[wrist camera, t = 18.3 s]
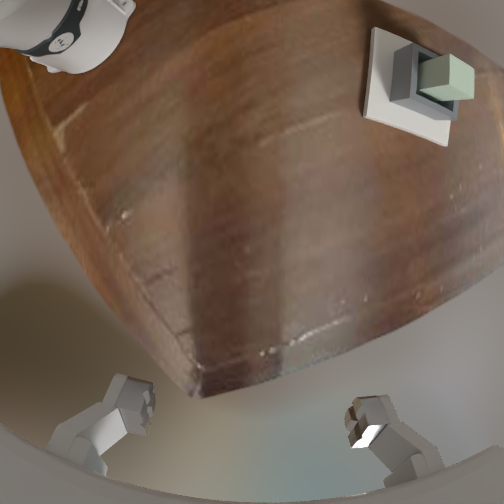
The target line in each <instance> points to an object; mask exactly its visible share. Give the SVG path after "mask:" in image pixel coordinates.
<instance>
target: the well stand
mask: <svg viewBox="0 0 504 504" xmlns="http://www.w3.org/2000/svg"><path fill="white" fill-rule="evenodd" d="M437 57H440V56H438V55H437V54H435V53H433V52H431V51H429V50H427V49H425V48H423V47H421V46H419V45H417V44H415V43H413V42H411V41H408V40H406V39H404V38H402V37H399V36H397V35H395V34H392V33H390V32H387V31H385V30H382V29H380V28H377V27H374V28H373V29H371V44H370V57H369V68H368V78H367V87H366V95H365V103H364V110H363V117H364V118H367V119H370V120H374V121H377V122H380V123H383V124H386V125H389V126H392V127H395V128H398V129H401V130H404V131H406V132H409V133H412V134H414V135H417V136H419V137H422V138H425V139H427V140H429V141H432V142H434V143H437V144H439V145H441V146H446V147H447V145H448V138H449V130H450V122H451V120H455V121H457V117H458V105H459V100H449V101H438V102H432V101H430V100H428V99H426V98H424V97H422V96H419V95H417V94H416V89H417V75H418V64H419V63H422V62H425V61H428V60H431V59H434V58H437Z"/></svg>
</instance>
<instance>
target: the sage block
mask: <svg viewBox="0 0 504 504" xmlns="http://www.w3.org/2000/svg"><path fill="white" fill-rule="evenodd" d="M416 94H417V95H419V96H422V97H424V98H426V99H428V100H430V101H432V102H438V101H449V100H463V99H474V69H473V68H472V67H470V66H469V65H467V64H466V63H464V62H463V61H461V60H459V59H458V58H456V57H454V56H453V55H451V54H447V55H443V56H440V57H437V58H434V59H431V60H428V61H425V62H422V63H419V64H418V75H417V89H416Z"/></svg>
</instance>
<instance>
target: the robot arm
mask: <svg viewBox="0 0 504 504" xmlns="http://www.w3.org/2000/svg"><path fill="white" fill-rule="evenodd" d="M124 3H126V4H124ZM135 7H136V3H135V2H134V1H133V0H0V47H6V48H12V49H15V50H16V51H17V52H19V53H21V54H23V55H26V56H30V59H31V60H32V61H35V62H37V63H40V64H43V65H45V66H47V70H48V71H49V72H51V73H56V72H60V71H65V72H68V73H73V74H77V73H83V72H86V71H89V70H91V69H93V68H94V67H96V66H98V65H99V64H100V63H102V62H103V61H104V60H105V59H106V58H107V57H108V56H109V55H110V54H111V53H112V52H113V51H114V49H115V48H116V47H117V45H118V44H119V42H120V40H121V38H122V36H123V33H124V30H125V27H126V23H127V20H128V18H129V17H130V15H131V14H132V12H133V11H134V9H135ZM153 390H154V385H153V382H148V381H145V380H141V379H137V378H133V377H129V376H125V375H122V374H118V373H117V374H116V375H115V376H114V378H113V380H112V382H111V385H110V386H109V388H108V391H107V393H106V395H105V397H104V399H103V402H102V403H101V402H98V403H96V404H95V405H93V406H91V407H89V408H88V409H86V410H84V411H82V412H81V413H79V414H77V415H76V416H74V417H72V418H70V419H69V420H67V421H65V422H64V423H61V424H60V425H58V426H57V427H56V429H55V431H54V433H53V436H52V437H51V440H50V442H49V444H48V446H47V448H46V450H44V449H43V448H41V447H39V446H37V445H35V444H33V443H31V442H30V441H28V440H26V439H24V438H23V437H21V436H19V435H18V434H16V433H15V432H13V431H11V430H10V429H8V428H7V427H5V426H4V425H2V424H0V504H504V448H502V447H500V446H498V445H494V446H491V447H489V448H487V449H485V450H483V451H481V452H479V453H477V454H475V455H473V456H471V457H469V458H467V459H465V460H463V461H461V462H459V463H456V464H454V465H451V466H449V467H447V468H445V466H444V463H443V461H442V458H441V456H440V454H439V451H438V449H437V447H436V446H435V445H433V444H432V443H430V442H429V441H428V440H426V439H425V438H424V437H422V436H421V435H420V434H418V433H417V432H416V431H414V430H413V429H412V428H410V427H409V426H408V425H406V424H405V423H404V422H400V421H399V418H398V416H397V413H396V411H395V409H394V406H393V404H392V402H391V399H390V397H389V396H388V395H380V396H367V397H357V398H355V399H354V400H353V402H352V404H353V406H352V407H350V408H349V409H348V410H347V412H346V414H345V426H346V429H348V430H349V431H350V433H349V435H348V438H349V442H350V445H351V448H358V447H367V446H369V447H368V448H369V449H370V450H371V451H372V452H373V453H374V454H375V455H376V456H377V457H378V458H379V459H380V460H381V461H382V462H383V463H384V464H385V465H386V467H387V468H388V469H389V470H390V471H391V472H392V473H391V474H390V475H388V476H387V477H386V478H385V479H384V480H383V481H384V485H385V488H383V489H379V490H375V491H370V492H366V493H360V494H355V495H350V496H344V497H337V498H330V499H323V500H313V501H300V502H280V503H249V502H231V501H219V500H209V499H202V498H194V497H188V496H182V495H176V494H171V493H166V492H161V491H157V490H152V489H148V488H144V487H140V486H137V485H133V484H130V483H126V482H123V481H120V480H117V479H113V478H110V477H108V476H105V475H106V472H107V466H106V464H105V463H104V461H103V460H102V459H101V457H100V455H101V454H102V453H104V452H105V451H106V450H107V449H108V448H110V447H111V446H112V445H113V444H114V443H116V442H117V441H118V440H119V439H120V438H122V437H123V436H124V435H125V434H127V432H130V433H135V434H139V435H143V436H147V435H148V432H149V428H150V425H151V422H150V417H151V416H153V414H154V411H155V405H156V396H155V394H154V393H153Z"/></svg>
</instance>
